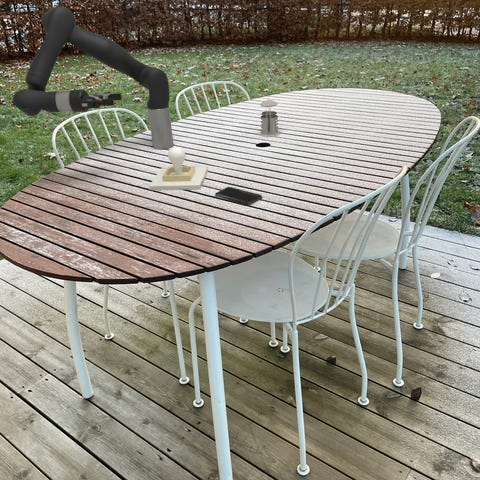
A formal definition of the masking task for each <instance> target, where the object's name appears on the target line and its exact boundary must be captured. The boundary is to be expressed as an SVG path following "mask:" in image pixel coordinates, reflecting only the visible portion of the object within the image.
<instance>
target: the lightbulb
mask: <svg viewBox="0 0 480 480" xmlns="http://www.w3.org/2000/svg"><path fill="white" fill-rule="evenodd" d="M167 156H168V160H169V162H170V163H171V164H172V167H174V170H175V174H176V175H182V169H183V166H184V163H185V159H186V152H185V150H184V149H183V148H182V147H179V146H172V147H170V148H169V151H168V154H167Z"/></svg>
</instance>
